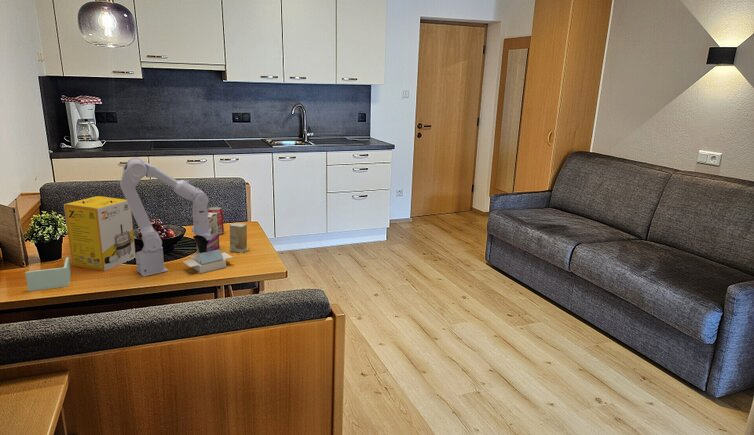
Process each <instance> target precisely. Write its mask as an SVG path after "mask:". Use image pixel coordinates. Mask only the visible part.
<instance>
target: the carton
mask: <svg viewBox="0 0 754 435" xmlns="http://www.w3.org/2000/svg"><path fill="white" fill-rule="evenodd" d="M221 254H222V256H223V260H219V261H214V262H210V263H205V264H201V262H200V259H199V257H198V254H197V253H195V254H192V255H191V254H190V255H188V257H189V258H190V259H187V260H183V261H182V263H183V264H185V265H186V266H188V268H191V269H193V270H194V271H196V272H197V273H199V274H200V275H201V274H205V273H209V272H213V271H217V270H221V269H226V268H227V260H229V259H233V258H234V256H232V255H231V254H228V253H227V252H221Z"/></svg>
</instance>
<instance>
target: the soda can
mask: <svg viewBox="0 0 754 435" xmlns="http://www.w3.org/2000/svg"><path fill="white" fill-rule="evenodd" d="M207 209H208V213H209V212H210V213H217V217H218V232H219V236H221V235H223V233H225V232H224V231H225V229H224V227H225V226H224V214H223V213H224V212H223V209H222V207H220V206H210V207H207Z"/></svg>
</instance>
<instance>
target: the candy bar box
mask: <svg viewBox="0 0 754 435" xmlns="http://www.w3.org/2000/svg"><path fill="white" fill-rule="evenodd" d="M208 224H209V229H211V230H212V231H211V232H210V234H211V235H212V240H209V242H208V244H207V249H206V252H209V251H214V250H219V249H220V235H219V232H218V217H217V213H210V212H209V213H208ZM195 243H196V242H195ZM199 253H200V252H199V249H198V246H197V243H196V254H199Z"/></svg>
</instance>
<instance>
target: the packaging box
mask: <svg viewBox="0 0 754 435" xmlns="http://www.w3.org/2000/svg"><path fill="white" fill-rule="evenodd" d="M63 210H64V216H65V224H66V230H67V237H68V245H69V252H70V260H71V266H74V267H81V268H85V269H90V270H96V271H102V272H106V271H108V270H110V269H112V268H115V267H118V266H121V265H122V264H123V265H124V264H125V263H127V261H128V262H129V261H131V260H134V258H135V259H136V246H135V235H134V226H133V225H134V224H133V213H132V211H131V209H130V207H129V204H128V202H127V200H126V198H119V197H117V198H116V197H109V196H102V195H97V196H92V197H89V198H84V199H80V200H76V201H72V202H71V201H70V202H67V203H64V204H63Z"/></svg>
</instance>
